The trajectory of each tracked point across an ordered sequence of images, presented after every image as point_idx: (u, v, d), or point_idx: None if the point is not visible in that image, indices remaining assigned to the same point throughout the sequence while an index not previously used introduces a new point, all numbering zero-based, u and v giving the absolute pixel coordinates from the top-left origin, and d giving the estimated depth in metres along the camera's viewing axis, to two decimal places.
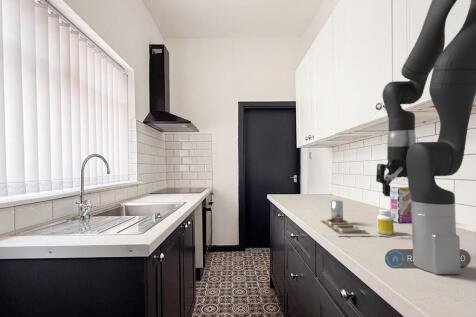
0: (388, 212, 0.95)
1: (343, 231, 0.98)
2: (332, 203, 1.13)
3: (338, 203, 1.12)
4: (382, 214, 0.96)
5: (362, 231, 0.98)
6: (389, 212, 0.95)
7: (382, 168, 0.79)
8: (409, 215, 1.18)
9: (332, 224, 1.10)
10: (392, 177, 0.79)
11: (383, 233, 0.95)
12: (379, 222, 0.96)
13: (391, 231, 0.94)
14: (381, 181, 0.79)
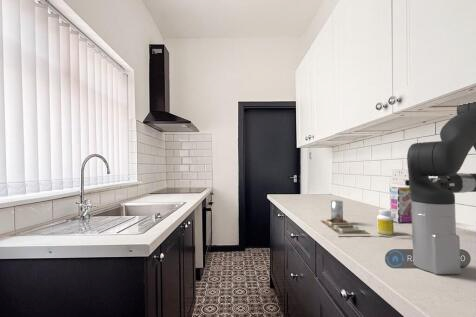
0: (388, 212, 0.95)
1: (343, 231, 0.98)
2: (332, 203, 1.13)
3: (338, 203, 1.12)
4: (382, 214, 0.96)
5: (362, 231, 0.98)
6: (389, 212, 0.95)
7: None
8: (409, 215, 1.18)
9: (332, 224, 1.10)
10: None
11: (383, 233, 0.95)
12: (379, 222, 0.96)
13: (391, 231, 0.94)
14: None
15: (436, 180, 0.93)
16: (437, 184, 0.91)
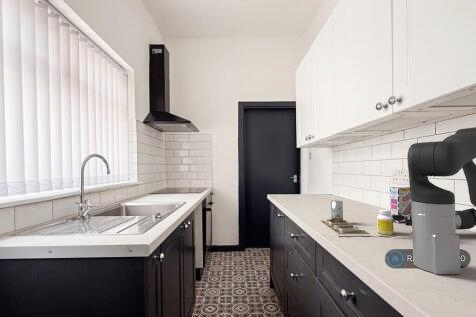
0: (388, 212, 0.95)
1: (343, 231, 0.98)
2: (332, 203, 1.13)
3: (338, 203, 1.12)
4: (382, 214, 0.96)
5: (362, 231, 0.98)
6: (389, 212, 0.95)
7: None
8: None
9: (332, 224, 1.10)
10: (408, 214, 1.00)
11: (383, 233, 0.95)
12: (379, 222, 0.96)
13: (391, 231, 0.94)
14: (400, 213, 1.03)
15: None
16: None
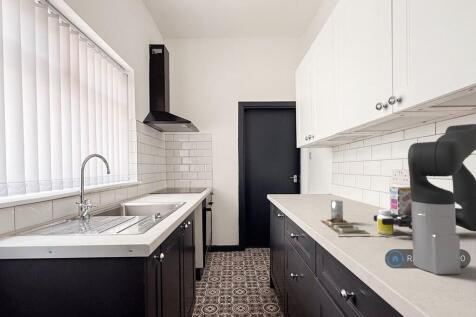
0: (388, 212, 0.95)
1: (343, 231, 0.98)
2: (332, 203, 1.13)
3: (338, 203, 1.12)
4: (382, 214, 0.96)
5: (362, 231, 0.98)
6: (389, 212, 0.95)
7: (392, 213, 1.03)
8: None
9: (332, 224, 1.10)
10: None
11: (383, 233, 0.95)
12: (379, 222, 0.96)
13: (391, 231, 0.94)
14: None
15: (399, 217, 0.94)
16: (398, 222, 0.92)
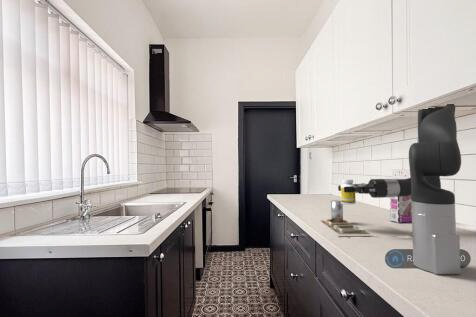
0: (350, 181, 1.01)
1: (343, 231, 0.98)
2: (332, 203, 1.13)
3: (338, 203, 1.12)
4: (344, 183, 1.02)
5: (362, 231, 0.98)
6: (351, 181, 1.01)
7: (356, 184, 1.09)
8: (409, 215, 1.18)
9: (332, 224, 1.10)
10: (354, 184, 1.05)
11: (345, 200, 1.00)
12: (342, 190, 1.02)
13: (352, 198, 1.00)
14: None
15: (359, 185, 0.99)
16: (358, 189, 0.97)
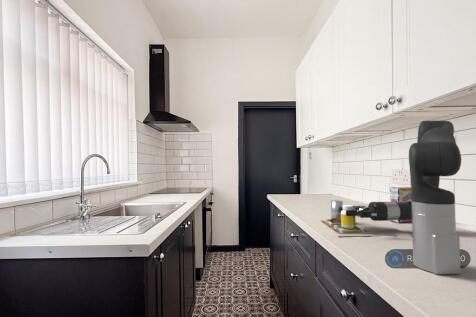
0: (350, 207, 1.00)
1: (343, 231, 0.98)
2: (332, 203, 1.13)
3: (338, 203, 1.12)
4: (345, 209, 1.01)
5: (362, 231, 0.98)
6: (351, 207, 1.00)
7: None
8: None
9: (332, 224, 1.10)
10: (354, 206, 1.05)
11: (346, 227, 1.00)
12: (342, 217, 1.01)
13: (353, 225, 0.99)
14: None
15: (361, 209, 0.99)
16: (360, 213, 0.96)
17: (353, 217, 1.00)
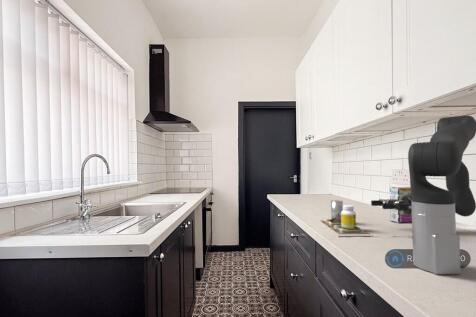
0: (350, 207, 1.00)
1: (343, 231, 0.98)
2: (332, 203, 1.13)
3: (338, 203, 1.12)
4: (345, 209, 1.01)
5: (362, 231, 0.98)
6: (351, 207, 1.00)
7: None
8: (409, 215, 1.18)
9: (332, 224, 1.10)
10: (387, 199, 1.06)
11: (346, 227, 1.00)
12: (342, 217, 1.01)
13: (353, 225, 0.99)
14: (380, 199, 1.09)
15: (397, 202, 0.98)
16: (397, 206, 0.96)
17: (353, 217, 1.00)
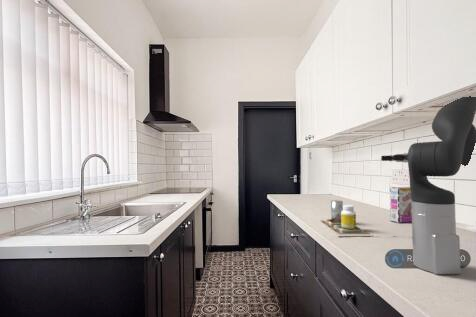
0: (350, 207, 1.00)
1: (343, 231, 0.98)
2: (332, 203, 1.13)
3: (338, 203, 1.12)
4: (345, 209, 1.01)
5: (362, 231, 0.98)
6: (351, 207, 1.00)
7: None
8: (409, 215, 1.18)
9: (332, 224, 1.10)
10: (397, 154, 1.09)
11: (346, 227, 1.00)
12: (342, 217, 1.01)
13: (353, 225, 0.99)
14: None
15: (407, 154, 1.01)
16: (408, 156, 0.99)
17: (353, 217, 1.00)
